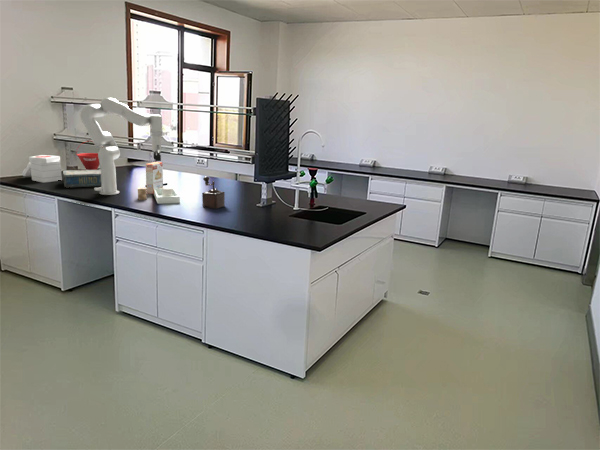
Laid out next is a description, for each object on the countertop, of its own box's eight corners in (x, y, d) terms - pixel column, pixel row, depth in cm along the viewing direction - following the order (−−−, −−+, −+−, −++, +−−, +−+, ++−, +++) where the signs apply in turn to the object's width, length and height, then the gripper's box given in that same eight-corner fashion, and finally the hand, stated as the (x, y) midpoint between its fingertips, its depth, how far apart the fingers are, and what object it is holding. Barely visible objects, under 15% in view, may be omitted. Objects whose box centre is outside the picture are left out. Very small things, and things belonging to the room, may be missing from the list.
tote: (157, 205, 289) (157, 197, 288) (153, 195, 315) (153, 188, 314) (179, 204, 294) (179, 196, 293) (174, 195, 320) (174, 188, 319)
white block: (163, 202, 293) (162, 189, 291) (162, 200, 298) (161, 188, 296) (173, 201, 295) (173, 189, 293) (172, 199, 301) (171, 187, 299)
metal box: (113, 186, 342) (112, 173, 339) (64, 188, 327) (63, 174, 325) (110, 181, 360) (109, 169, 358) (63, 183, 345) (62, 170, 343)
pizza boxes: (43, 175, 370) (41, 153, 366) (66, 180, 355) (64, 156, 351) (19, 178, 355) (16, 154, 350) (41, 183, 340) (39, 158, 335)
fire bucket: (78, 180, 355) (75, 141, 348) (76, 176, 372) (73, 139, 364) (108, 179, 366) (106, 141, 358) (105, 176, 382) (102, 139, 374)
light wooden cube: (138, 201, 297) (137, 189, 295) (138, 199, 301) (137, 187, 299) (146, 201, 299) (146, 188, 297) (146, 199, 303) (145, 187, 301)
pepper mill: (225, 206, 295) (226, 178, 290) (215, 209, 285) (215, 180, 281) (205, 203, 301) (205, 175, 297) (195, 206, 291) (195, 177, 287)
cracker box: (154, 194, 320) (152, 164, 314) (146, 193, 321) (144, 163, 316) (163, 190, 333) (162, 162, 328) (156, 190, 334) (155, 161, 329)
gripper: (149, 132, 310) (149, 158, 314) (152, 135, 294) (153, 161, 299) (160, 133, 313) (161, 158, 317) (164, 135, 297) (165, 161, 302)
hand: (157, 160), depth 308 cm, fingers open, 9 cm apart
